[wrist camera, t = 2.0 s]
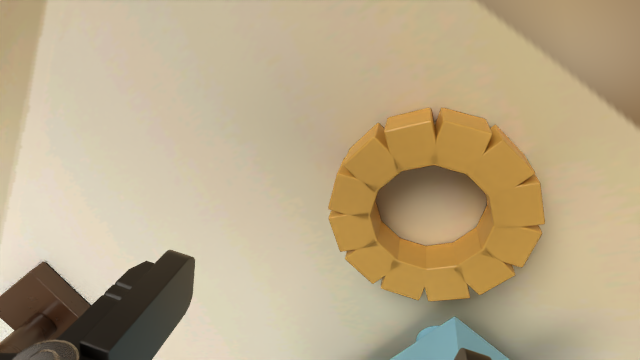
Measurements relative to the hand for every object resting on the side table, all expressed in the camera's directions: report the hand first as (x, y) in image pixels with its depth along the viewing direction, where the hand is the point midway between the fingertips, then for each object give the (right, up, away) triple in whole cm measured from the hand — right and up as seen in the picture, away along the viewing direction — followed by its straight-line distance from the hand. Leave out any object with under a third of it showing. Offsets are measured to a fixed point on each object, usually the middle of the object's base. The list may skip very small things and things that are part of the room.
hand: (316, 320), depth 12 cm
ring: (+5, +3, +8) cm, 10 cm away
